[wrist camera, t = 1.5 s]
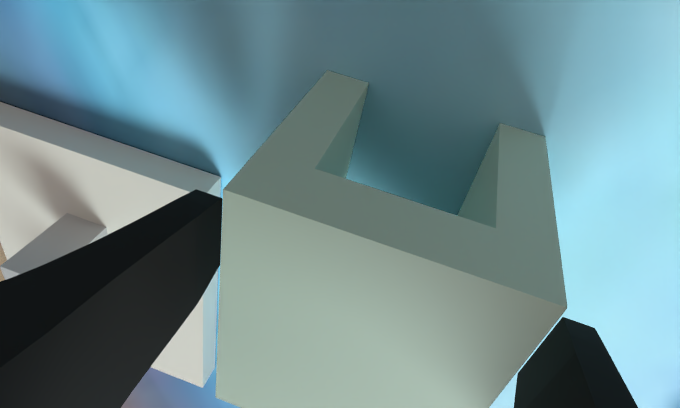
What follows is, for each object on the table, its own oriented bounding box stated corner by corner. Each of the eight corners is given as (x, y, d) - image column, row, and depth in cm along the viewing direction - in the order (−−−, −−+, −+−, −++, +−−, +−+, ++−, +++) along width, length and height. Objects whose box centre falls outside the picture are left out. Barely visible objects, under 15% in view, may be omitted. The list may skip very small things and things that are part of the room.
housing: (451, 308, 14) (430, 482, 10) (294, 252, 14) (215, 397, 11) (545, 136, 10) (568, 307, 6) (327, 69, 11) (222, 189, 7)
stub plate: (214, 366, 20) (167, 448, 17) (48, 302, 20) (-23, 369, 18) (221, 177, 13) (147, 257, 11) (-20, 95, 14) (-145, 149, 11)
